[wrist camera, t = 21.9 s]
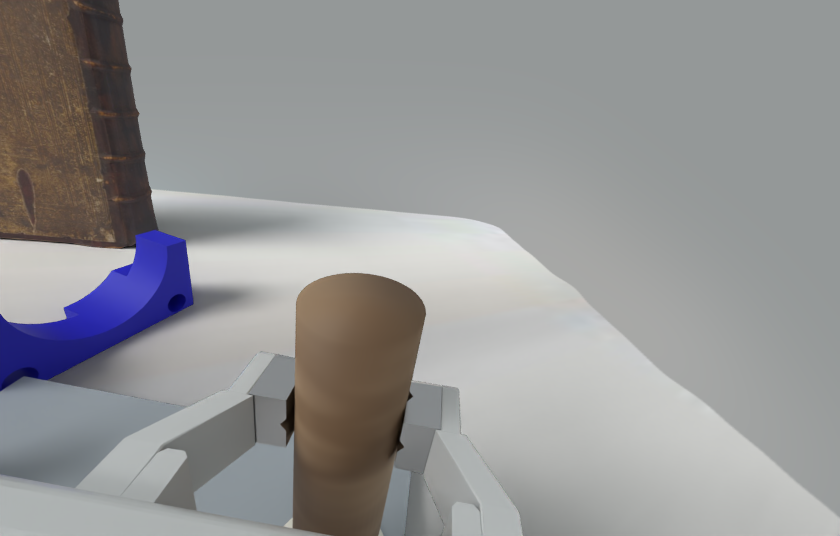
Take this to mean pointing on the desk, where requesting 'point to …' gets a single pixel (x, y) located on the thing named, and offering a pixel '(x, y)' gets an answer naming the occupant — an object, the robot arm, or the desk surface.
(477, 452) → the robot arm
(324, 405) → the pin
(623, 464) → the desk surface
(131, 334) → the cable clip
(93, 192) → the book
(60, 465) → the board
